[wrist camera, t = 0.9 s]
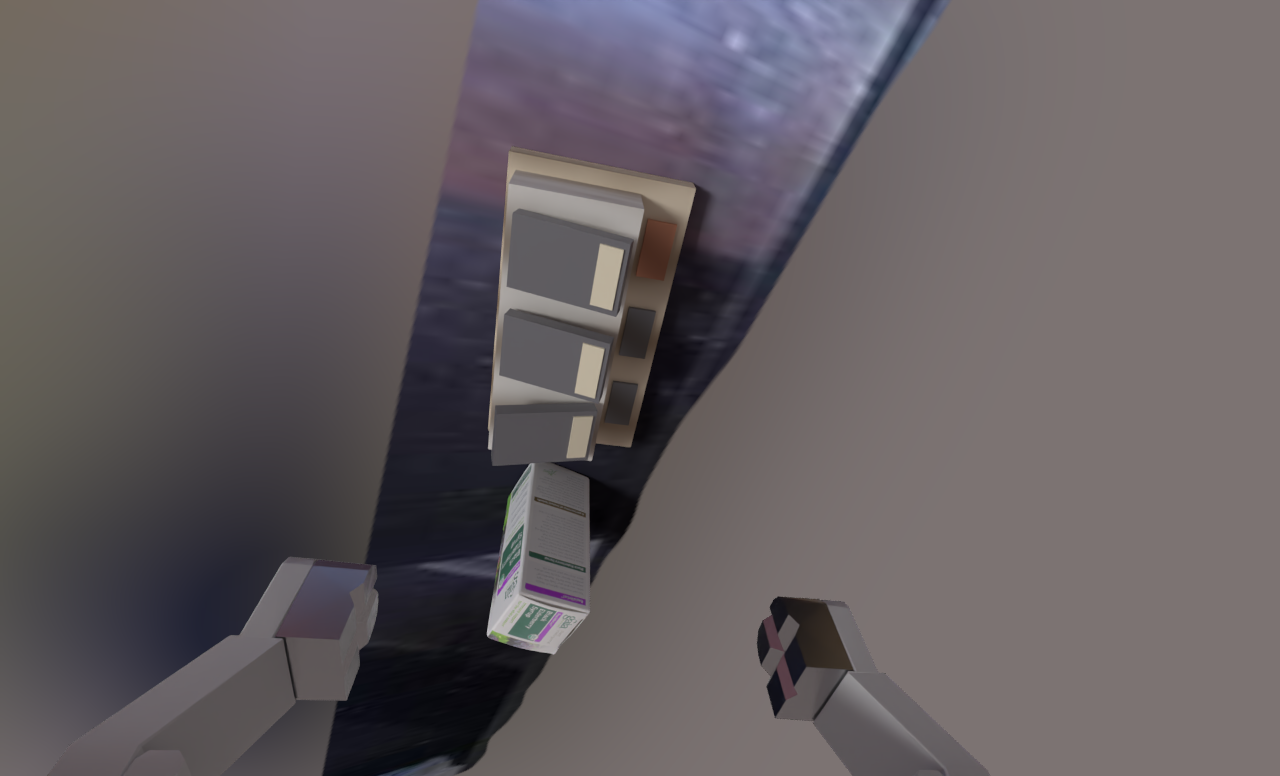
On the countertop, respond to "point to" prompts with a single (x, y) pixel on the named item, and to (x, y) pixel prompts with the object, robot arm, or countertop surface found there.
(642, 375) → the switch unit
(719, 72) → the countertop surface
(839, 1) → the countertop surface
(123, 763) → the robot arm
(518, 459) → the switch
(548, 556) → the syrup box
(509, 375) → the switch middle
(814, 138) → the countertop surface
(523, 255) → the switch
